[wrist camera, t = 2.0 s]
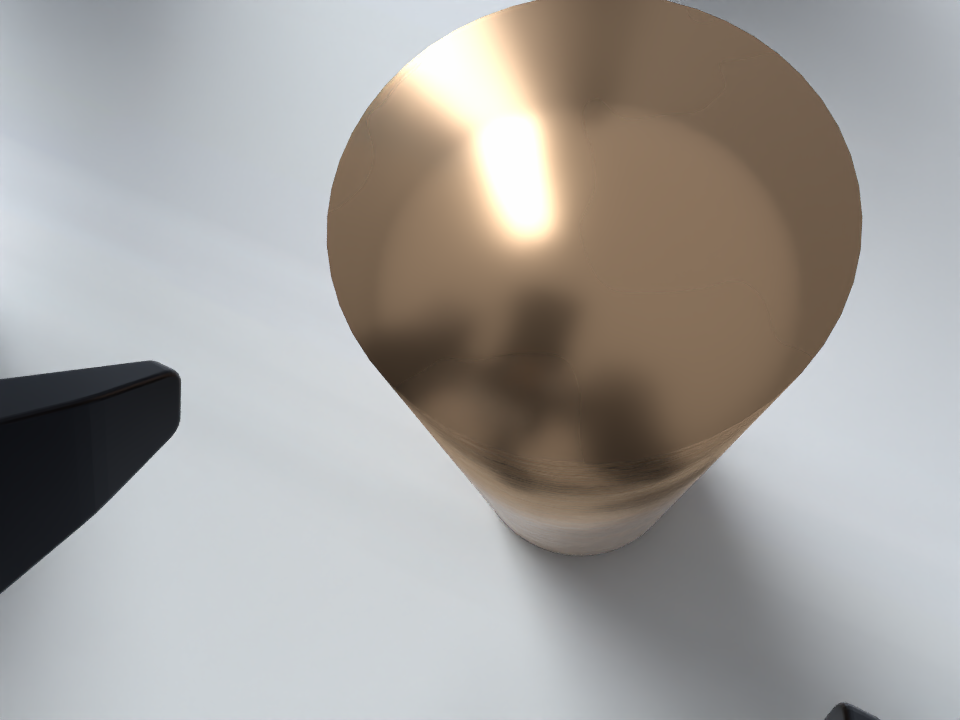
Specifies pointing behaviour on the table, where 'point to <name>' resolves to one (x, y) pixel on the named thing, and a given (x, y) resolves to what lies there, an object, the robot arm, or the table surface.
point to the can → (593, 252)
